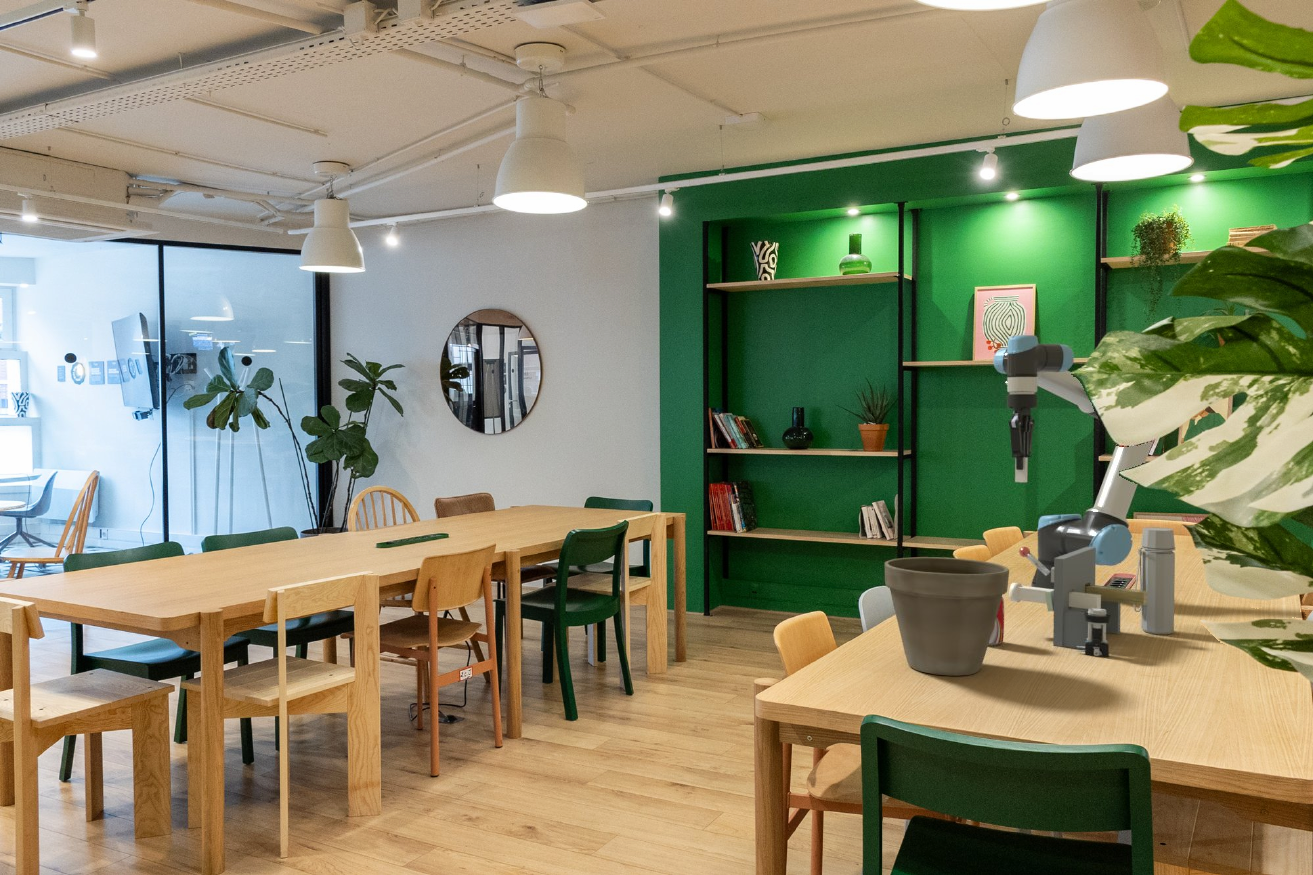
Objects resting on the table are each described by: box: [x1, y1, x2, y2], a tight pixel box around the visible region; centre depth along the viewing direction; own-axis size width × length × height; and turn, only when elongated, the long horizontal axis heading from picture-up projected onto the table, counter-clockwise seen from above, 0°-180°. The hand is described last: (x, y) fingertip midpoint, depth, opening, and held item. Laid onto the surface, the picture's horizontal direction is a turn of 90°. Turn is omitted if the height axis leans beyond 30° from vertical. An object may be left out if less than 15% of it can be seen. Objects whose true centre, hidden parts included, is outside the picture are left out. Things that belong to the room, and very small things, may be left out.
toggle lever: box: [1018, 546, 1050, 576], centre depth 227 cm, size 2×7×6 cm, turn 50°
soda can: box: [988, 596, 1005, 647], centre depth 225 cm, size 7×7×12 cm
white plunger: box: [1008, 582, 1101, 609], centre depth 228 cm, size 4×20×4 cm, turn 50°
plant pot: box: [884, 556, 1010, 677], centre depth 204 cm, size 25×25×22 cm
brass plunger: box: [1085, 584, 1147, 606], centre depth 233 cm, size 4×20×4 cm, turn 50°
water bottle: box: [1133, 526, 1176, 636], centre depth 236 cm, size 9×8×25 cm
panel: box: [1051, 547, 1122, 651], centre depth 230 cm, size 24×9×20 cm, turn 140°
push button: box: [1076, 608, 1111, 658], centre depth 215 cm, size 7×5×10 cm
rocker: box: [1045, 590, 1054, 612], centre depth 225 cm, size 3×1×4 cm, turn 140°
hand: (1021, 481), depth 261 cm, fingers closed
